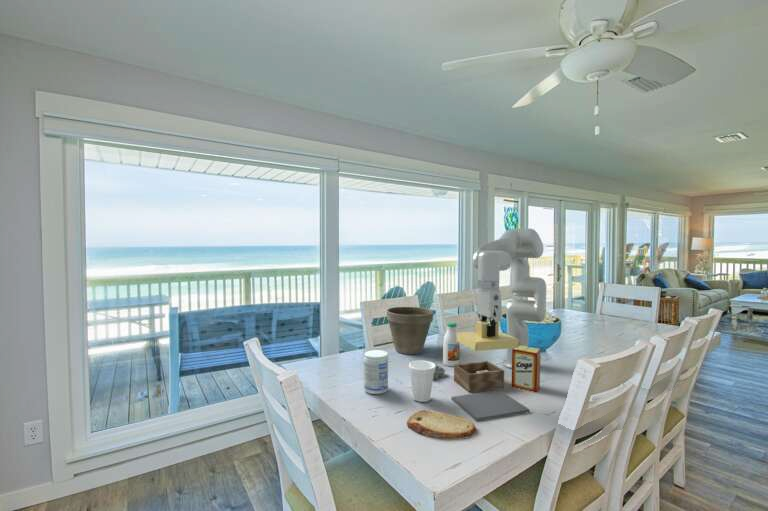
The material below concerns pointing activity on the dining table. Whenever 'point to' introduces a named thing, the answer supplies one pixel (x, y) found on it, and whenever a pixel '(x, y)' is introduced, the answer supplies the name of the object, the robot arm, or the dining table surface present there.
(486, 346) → the lid
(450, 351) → the milk bottle
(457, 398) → the mat
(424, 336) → the plant pot
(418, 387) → the cup
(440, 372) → the egg carton
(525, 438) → the dining table surface
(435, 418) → the slice of bread
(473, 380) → the box
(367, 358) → the supplement tub
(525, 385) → the baking soda box
